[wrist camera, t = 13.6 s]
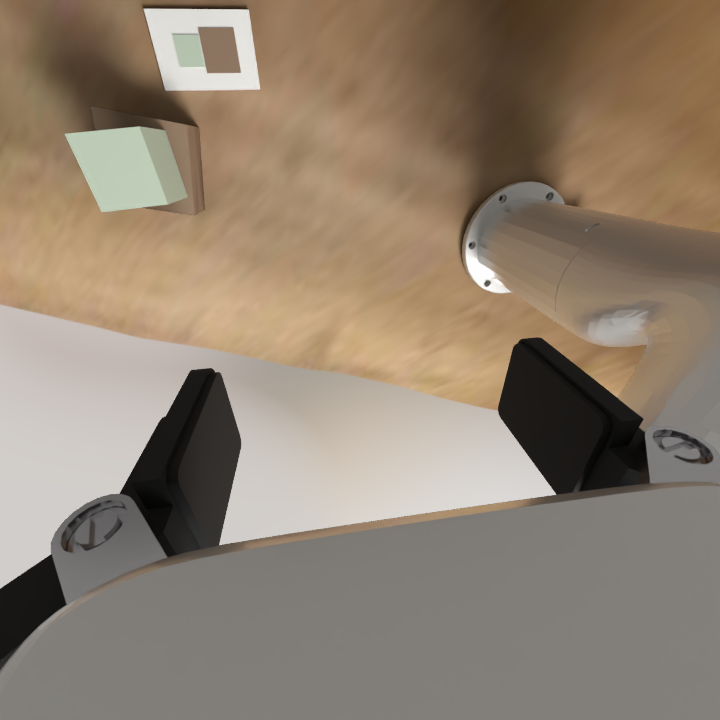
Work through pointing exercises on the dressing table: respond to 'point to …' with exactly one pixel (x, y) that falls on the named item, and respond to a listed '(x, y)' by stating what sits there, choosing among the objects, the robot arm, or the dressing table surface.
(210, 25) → the tile
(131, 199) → the sage cube
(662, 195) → the dressing table surface
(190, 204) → the walnut base
